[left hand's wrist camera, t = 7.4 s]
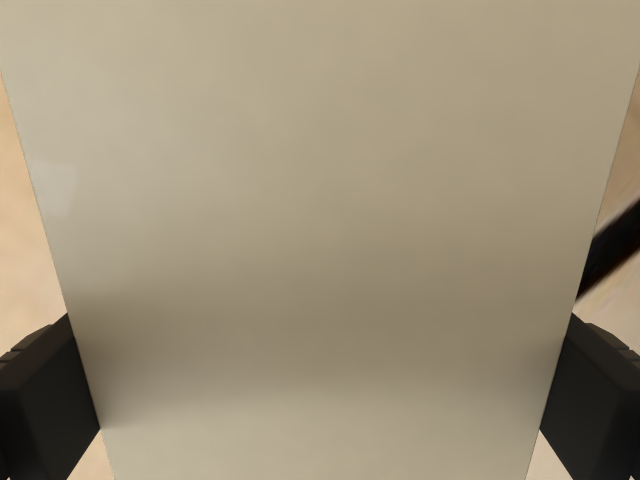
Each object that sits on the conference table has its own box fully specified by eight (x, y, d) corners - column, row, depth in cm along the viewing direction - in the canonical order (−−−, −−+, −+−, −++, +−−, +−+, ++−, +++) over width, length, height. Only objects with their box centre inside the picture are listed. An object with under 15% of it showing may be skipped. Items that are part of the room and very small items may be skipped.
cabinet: (172, -135, 14) (-241, -772, 4) (466, -136, 14) (876, -773, 4) (219, 295, 20) (118, 499, 10) (420, 295, 20) (521, 498, 10)
